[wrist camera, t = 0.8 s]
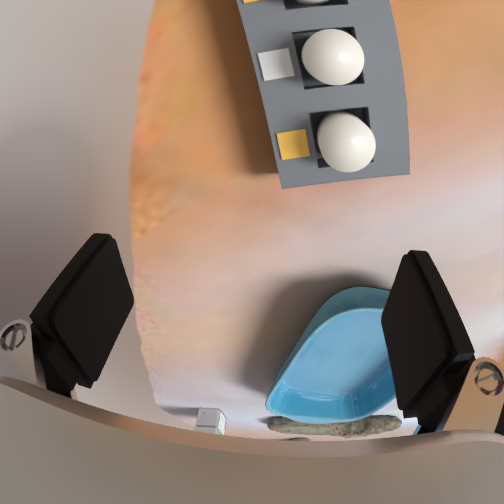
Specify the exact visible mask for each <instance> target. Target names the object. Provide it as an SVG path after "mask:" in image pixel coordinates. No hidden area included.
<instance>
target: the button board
mask: <svg viewBox="0 0 504 504" xmlns="http://www.w3.org/2000/svg"><path fill="white" fill-rule="evenodd" d="M236 1H237V5H238V8H239V12H240V15H241V19H242V23H243V26H244V30H245V34H246V37H247V41H248V45H249V49H250V53H251V57H252V61H253V64H254V68H255V72H256V76H257V80H258V85H259V89H260V93H261V97H262V101H263V105H264V110H265V114H266V118H267V123H268V127H269V131H270V136H271V140H272V145H273V150H274V154H275V159H276V163H277V168H278V173H279V178H280V183H281V187H282V189H286V188H293V187H300V186H308V185H315V184H323V183H331V182H339V181H348V180H357V179H366V178H376V177H386V176H397V175H408V174H410V153H409V130H408V115H407V103H406V93H405V85H404V77H403V69H402V62H401V56H400V50H399V44H398V39H397V34H396V29H395V24H394V19H393V15H392V11H391V6H390V2H389V0H329V1H328V2H326V3H324V4H320V5H313V6H312V5H304V4H301V3H298V2H296V1H294V0H236ZM325 29H337V30H341V31H344V32H346V33H348V34H350V35H351V36H352V37H354V38H355V39H356V40H357V42H358V43H359V44H360V46H361V48H362V50H363V54H364V66H363V69H362V71H361V73H360V74H359V76H358V77H357V78H356V79H355V80H353V81H352V82H350V83H347V84H344V85H329V84H325V83H323V82H321V81H319V80H317V79H316V78H314V77H313V76H311V75H310V74H309V73H308V72H307V71H306V69H305V68H304V66H303V64H302V60H301V51H302V47H303V45H304V44H305V42H306V41H307V40H308V39H309V38H310V37H311V36H312V35H313V34H315V33H316V32H319V31H321V30H325ZM334 111H347V112H350V113H352V114H354V115H355V116H357V117H358V118H359V119H360V120H361V121H362V122H363V123H364V124H365V125H366V126H368V127H369V129H370V130H371V131H372V133H373V135H374V138H375V142H376V149H375V154H374V156H373V158H372V160H371V161H370V163H369V164H368V165H367V166H365V167H364V168H362V169H360V170H358V171H355V172H341V171H338V170H336V169H334V168H332V167H331V166H330V165H328V164H327V162H326V161H325V160H324V158H323V156H322V154H321V151H320V148H319V145H318V142H317V138H316V131H317V127H318V124H319V122H320V121H321V119H322V118H323V117H324V116H326V115H327V114H329V113H331V112H334Z"/></svg>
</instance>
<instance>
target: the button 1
mask: <svg viewBox="0 0 504 504" xmlns="http://www.w3.org/2000/svg"><path fill="white" fill-rule="evenodd" d="M294 1H296V2H298V3H301V4H304V5H312V6H313V5H320V4H324V3H326V2H328V1H329V0H294Z"/></svg>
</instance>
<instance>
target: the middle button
mask: <svg viewBox="0 0 504 504" xmlns="http://www.w3.org/2000/svg"><path fill="white" fill-rule="evenodd" d="M301 60H302V64H303V66H304V68H305V69H306V71H307V72H308V73H309V74H310V75H311V76H313V77H314V78H316V79H317V80H319V81H321V82H323V83H325V84H329V85H344V84H347V83H350V82H352V81H353V80H355V79H356V78H357V77H358V76H359V74H360V73H361V71H362V69H363V66H364V54H363V50H362V48H361V46H360V44H359V43H358V42H357V40H356V39H355V38H354V37H352V36H351V35H350V34H348V33H346V32H344V31H341V30H337V29H325V30H321V31H319V32H316V33H315V34H313V35H312V36H311V37H310V38H309V39H308V40H307V41H306V42H305V44H304V45H303V47H302V51H301Z"/></svg>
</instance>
